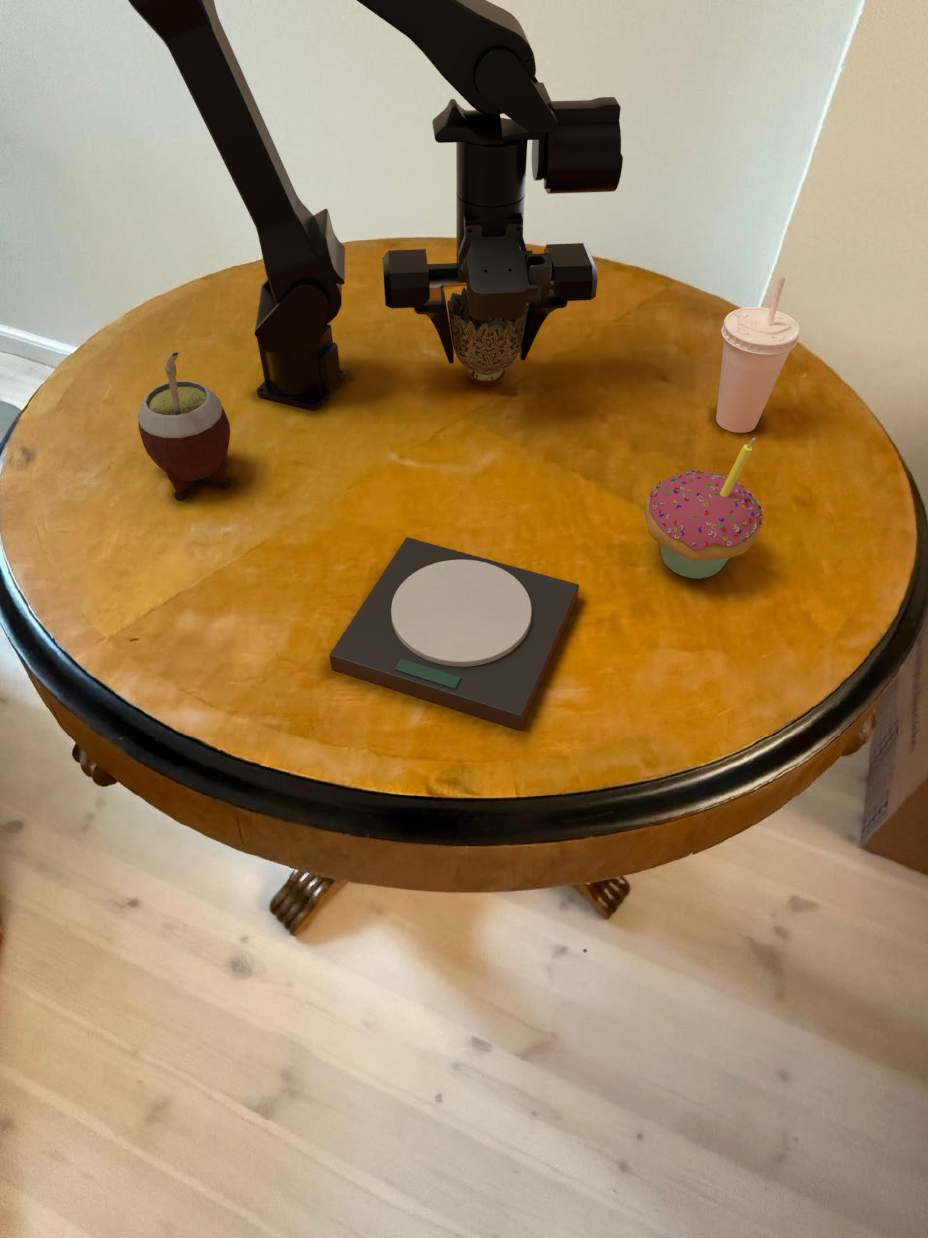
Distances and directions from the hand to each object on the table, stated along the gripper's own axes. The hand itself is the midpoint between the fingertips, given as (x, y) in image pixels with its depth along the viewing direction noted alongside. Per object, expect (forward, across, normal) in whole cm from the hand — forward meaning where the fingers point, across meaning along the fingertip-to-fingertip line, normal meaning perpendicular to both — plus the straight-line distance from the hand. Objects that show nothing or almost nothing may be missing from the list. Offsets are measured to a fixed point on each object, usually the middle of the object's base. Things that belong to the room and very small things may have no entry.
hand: (486, 359), depth 86 cm
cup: (+2, 0, 0) cm, 2 cm away
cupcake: (+2, +13, -27) cm, 30 cm away
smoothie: (+2, +22, -9) cm, 24 cm away
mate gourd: (+2, -26, -14) cm, 29 cm away
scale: (+2, -6, -33) cm, 34 cm away
